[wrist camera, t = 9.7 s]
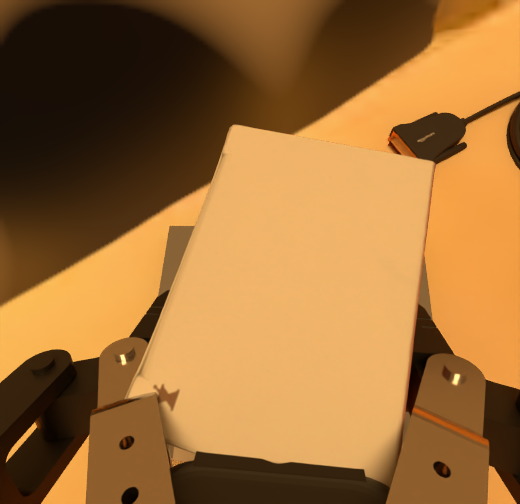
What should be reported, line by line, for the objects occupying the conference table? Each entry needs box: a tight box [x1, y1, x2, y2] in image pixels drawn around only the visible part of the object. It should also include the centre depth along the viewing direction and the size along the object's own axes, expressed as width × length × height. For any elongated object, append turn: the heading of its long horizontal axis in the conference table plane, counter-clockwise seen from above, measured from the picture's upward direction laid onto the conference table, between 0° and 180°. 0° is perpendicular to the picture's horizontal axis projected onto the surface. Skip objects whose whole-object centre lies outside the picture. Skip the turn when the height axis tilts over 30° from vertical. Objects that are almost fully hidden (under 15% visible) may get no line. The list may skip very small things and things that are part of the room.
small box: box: [125, 125, 436, 487], centre depth 12 cm, size 8×6×10 cm
